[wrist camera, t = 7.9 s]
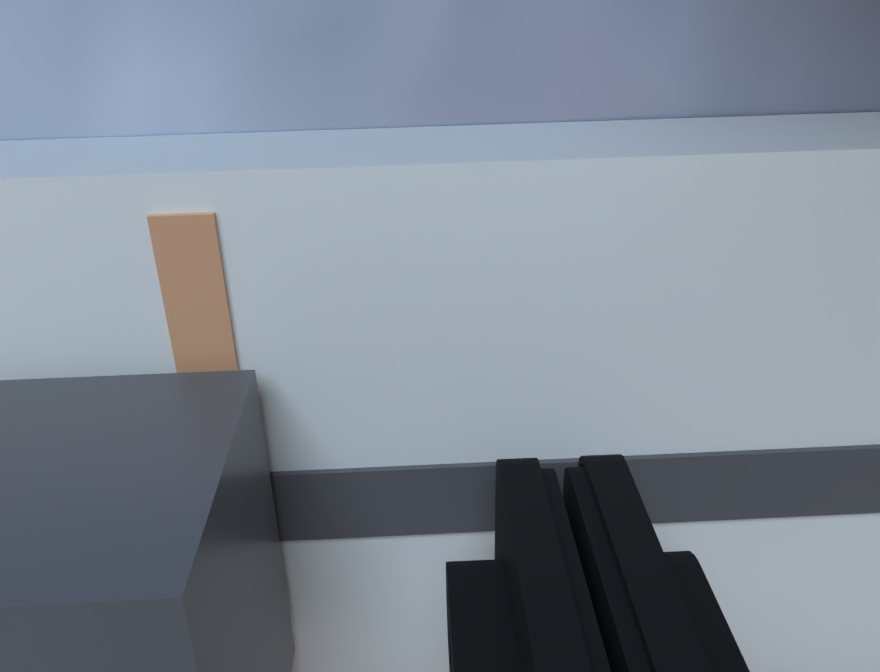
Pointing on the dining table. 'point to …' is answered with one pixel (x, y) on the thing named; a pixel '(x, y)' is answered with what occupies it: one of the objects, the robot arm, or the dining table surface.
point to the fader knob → (139, 527)
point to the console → (496, 344)
